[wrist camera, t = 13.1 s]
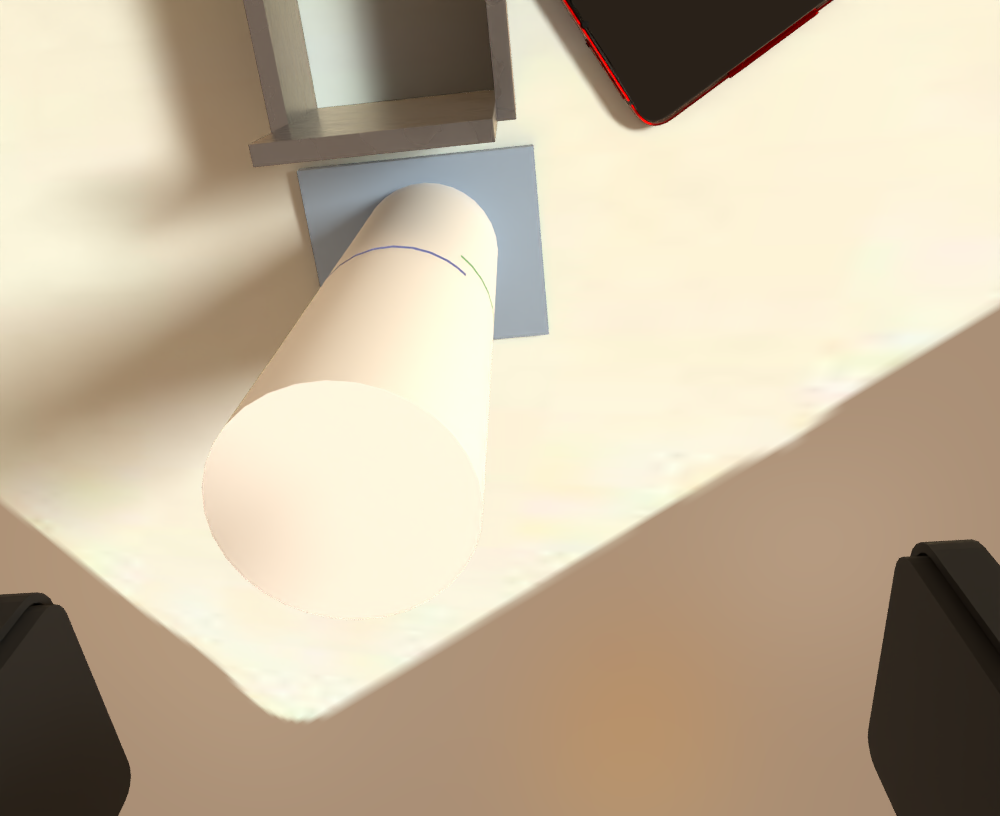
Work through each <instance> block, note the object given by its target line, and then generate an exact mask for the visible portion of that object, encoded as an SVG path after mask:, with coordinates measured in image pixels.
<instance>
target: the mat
mask: <svg viewBox="0 0 1000 816" xmlns="http://www.w3.org/2000/svg"><path fill="white" fill-rule="evenodd" d="M297 175H298V180H299V185H300V190H301V195H302V200H303V205H304V209H305V214H306V219H307V224H308V229H309V234H310V239H311V244H312V249H313V254H314V258H315V263H316V268H317V273H318V278H319V283H320V287H321V286H322V284H323V283H324V282H325V280H326V279H327V277H328V276H329V274H330V273H331V271H332V270H333V269H334V267H335V266H336V264H337V263H338V261H339V260H340V259H341V257H342V256H343V254H344V253H345V251H346V250H347V249H348V247H349V246H350V244H351V243H352V241H353V240H354V238H355V237H356V235H357V234H358V233H359V231H360V230H361V228H362V227H363V225H364V224H365V222H366V221H367V219H368V218H369V217H370V215H371V214H372V212H373V211H374V209H375V208H376V206H377V205H378V204H379V203H380V202H381V201H382V200H383V199H384V198H385V197H387V196H388V195H390V194H391V193H393V192H395V191H396V190H398V189H401V188H403V187H406V186H409V185H412V184H420V183H436V184H442V185H446V186H449V187H453V188H455V189H457V190H459V191H461V192H463V193H465V194H466V195H467V196H469V197H470V198H471V199H473V200H474V201H475V202H476V203H477V204H478V205H479V206H480V207H481V208H482V209H483V211H484V212H485V214H486V215H487V217H488V219H489V220H490V222H491V224H492V227H493V229H494V232H495V235H496V240H497V247H498V257H497V275H496V294H495V313H494V331H493V339H502V338H513V337H524V336H535V335H546V334H549V331H548V318H547V306H546V294H545V282H544V270H543V258H542V245H541V233H540V221H539V209H538V197H537V185H536V172H535V160H534V148H533V145H524V146H515V147H505V148H496V149H486V150H476V151H467V152H457V153H448V154H438V155H429V156H419V157H409V158H400V159H390V160H381V161H371V162H362V163H352V164H342V165H333V166H323V167H314V168H304V169H299V170H297Z"/></svg>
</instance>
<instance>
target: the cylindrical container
mask: <svg viewBox="0 0 1000 816" xmlns="http://www.w3.org/2000/svg"><path fill="white" fill-rule="evenodd" d="M497 257H498V247H497V240H496V235H495V232H494V229H493V227H492V224H491V222H490V220H489V219H488V217H487V215H486V214H485V212H484V211H483V209H482V208H481V207H480V206H479V205H478V204H477V203H476V202H475V201H474V200H473V199H471V198H470V197H469V196H467V195H466V194H465V193H463V192H461V191H459V190H457V189H455V188H453V187H449V186H446V185H442V184H436V183H420V184H412V185H409V186H406V187H403V188H401V189H398V190H396V191H395V192H393V193H391V194H390V195H388V196H387V197H385V198H384V199H383V200H382V201H381V202H380V203H379V204H378V205H377V206H376V208H375V209H374V211H373V212H372V214H371V215H370V217H369V218H368V219H367V221H366V222H365V224H364V225H363V227H362V228H361V230H360V231H359V233H358V234H357V235H356V237H355V238H354V240H353V241H352V243H351V244H350V246H349V247H348V249H347V250H346V251H345V253H344V254H343V256H342V257H341V259H340V260H339V261H338V263H337V264H336V266H335V267H334V269H333V270H332V271H331V273H330V274H329V276H328V277H327V279H326V280H325V282H324V283H323V284H322V286H321V287H320V289H319V290H318V292H317V293H316V295H315V296H314V298H313V299H312V301H311V302H310V303H309V305H308V306H307V308H306V309H305V311H304V312H303V314H302V315H301V317H300V318H299V319H298V321H297V322H296V324H295V325H294V327H293V328H292V330H291V331H290V333H289V334H288V335H287V337H286V338H285V340H284V341H283V343H282V344H281V346H280V347H279V349H278V350H277V351H276V353H275V354H274V356H273V357H272V359H271V360H270V362H269V363H268V364H267V366H266V367H265V369H264V370H263V372H262V373H261V374H260V376H259V377H258V379H257V380H256V382H255V383H254V385H253V386H252V387H251V389H250V390H249V392H248V393H247V395H246V396H245V398H244V399H243V400H242V402H241V403H240V405H239V406H238V408H237V409H236V410H235V412H234V413H233V415H232V416H231V418H230V419H229V421H228V422H227V423H226V425H225V426H224V428H223V429H222V431H221V432H220V434H219V435H218V437H217V438H216V440H215V441H214V443H213V445H212V447H211V450H210V453H209V455H208V458H207V460H206V463H205V468H204V475H203V483H202V494H203V504H204V512H205V515H206V518H207V521H208V524H209V527H210V530H211V533H212V536H213V537H214V539H215V541H216V542H217V544H218V546H219V547H220V549H221V551H222V552H223V554H224V556H225V557H226V559H227V560H228V561H229V562H230V563H231V564H232V565H233V566H234V567H235V568H236V570H237V571H238V572H239V573H240V574H241V575H242V576H243V577H244V578H245V579H246V580H248V581H249V582H250V583H252V584H253V585H254V586H255V587H257V588H258V589H259V590H261V591H262V592H263V593H265V594H267V595H269V596H270V597H272V598H274V599H276V600H278V601H279V602H281V603H283V604H285V605H288V606H290V607H293V608H296V609H298V610H301V611H304V612H306V613H310V614H315V615H320V616H324V617H329V618H337V619H354V620H361V619H371V618H380V617H387V616H390V615H394V614H397V613H401V612H404V611H408V610H411V609H413V608H415V607H417V606H419V605H421V604H423V603H425V602H427V601H429V600H431V599H432V598H434V597H435V596H436V595H438V594H439V593H440V592H442V591H443V590H444V589H446V588H447V587H448V586H450V585H451V584H452V582H453V581H454V580H455V579H456V578H457V577H458V576H459V575H460V573H461V572H462V571H463V570H464V569H465V567H466V565H467V564H468V562H469V560H470V558H471V557H472V555H473V553H474V551H475V549H476V545H477V542H478V539H479V536H480V533H481V529H482V515H483V500H484V483H485V466H486V449H487V432H488V415H489V398H490V381H491V365H492V348H493V331H494V313H495V294H496V275H497Z"/></svg>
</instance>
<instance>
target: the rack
mask: <svg viewBox="0 0 1000 816" xmlns="http://www.w3.org/2000/svg"><path fill="white" fill-rule="evenodd" d="M243 1H244V6H245V11H246V15H247V20H248V25H249V29H250V34H251V39H252V43H253V48H254V53H255V58H256V62H257V67H258V72H259V76H260V81H261V86H262V90H263V95H264V100H265V105H266V109H267V114H268V119H269V123H270V128H271V133H270V134H268V135H266V136H264V137H262V138H260V139H259V140H257V141H255V142H253V143H251V144H249V149H250V154H251V158H252V162H253V167H259V166H269V165H278V164H288V163H298V162H307V161H317V160H326V159H336V158H345V157H355V156H364V155H374V154H383V153H393V152H402V151H412V150H421V149H431V148H440V147H450V146H460V145H469V144H479V143H488V142H495V138H496V130H497V121H504V120H513V119H516V104H515V93H514V82H513V70H512V59H511V48H510V37H509V26H508V14H507V3H506V0H486V10H487V20H488V30H489V40H490V50H491V60H492V70H493V80H494V89H491V90H482V91H473V92H464V93H454V94H445V95H436V96H427V97H417V98H408V99H399V100H390V101H381V102H371V103H362V104H353V105H344V106H334V107H325V108H317V103H316V98H315V93H314V87H313V82H312V77H311V71H310V66H309V61H308V55H307V50H306V45H305V39H304V34H303V29H302V23H301V18H300V13H299V7H298V2H297V0H243Z"/></svg>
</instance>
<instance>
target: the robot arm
mask: <svg viewBox="0 0 1000 816" xmlns="http://www.w3.org/2000/svg"><path fill="white" fill-rule="evenodd" d="M868 743H869V749H870V754H871V758H872V761H873V764H874V767H875V769H876V771H877V774H878V776H879V778H880V780H881V782H882V785H883V787H884V789H885V791H886V793H887V795H888V798H889V800H890V802H891V804H892V806H893V809H894V811H895V813H896V815H897V816H1000V565H999V564H998V563H997V562H996V560H995V559H994V558H993V557H992V556H991V555H990V553H989V552H988V551H987V550H986V548H985V547H984V546H983V545H981V544H980V543H979V542H978V541H975V540H972V539H971V540H954V541H938V542H937V541H936V542H921V543H918V544H916V545H915V547H914V548H913V549H912V553H911V556H910V557H901V558H899V560H898V561H897V563H896V567H895V571H894V577H893V584H892V590H891V596H890V602H889V608H888V614H887V620H886V626H885V632H884V639H883V644H882V651H881V656H880V662H879V669H878V674H877V680H876V686H875V692H874V699H873V705H872V711H871V717H870V723H869V729H868ZM130 779H131V774H130V766H129V763H128V760H127V758H126V755H125V753H124V750H123V748H122V746H121V743H120V741H119V739H118V736H117V734H116V731H115V729H114V726H113V724H112V722H111V719H110V717H109V714H108V712H107V709H106V707H105V705H104V702H103V700H102V697H101V695H100V692H99V690H98V688H97V685H96V683H95V680H94V678H93V676H92V673H91V671H90V668H89V666H88V664H87V661H86V659H85V656H84V654H83V652H82V649H81V647H80V644H79V642H78V640H77V637H76V635H75V632H74V630H73V627H72V625H71V622H70V620H69V618H68V615H67V613H66V612H65V610H64V608H62V607H61V606H60V605H55V604H53V603H52V601H51V599H50V598H49V597H47V596H46V595H45V594H42V593H20V594H3V595H0V816H118V815H119V812H120V810H121V808H122V806H123V804H124V802H125V800H126V797H127V794H128V791H129V787H130Z"/></svg>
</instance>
